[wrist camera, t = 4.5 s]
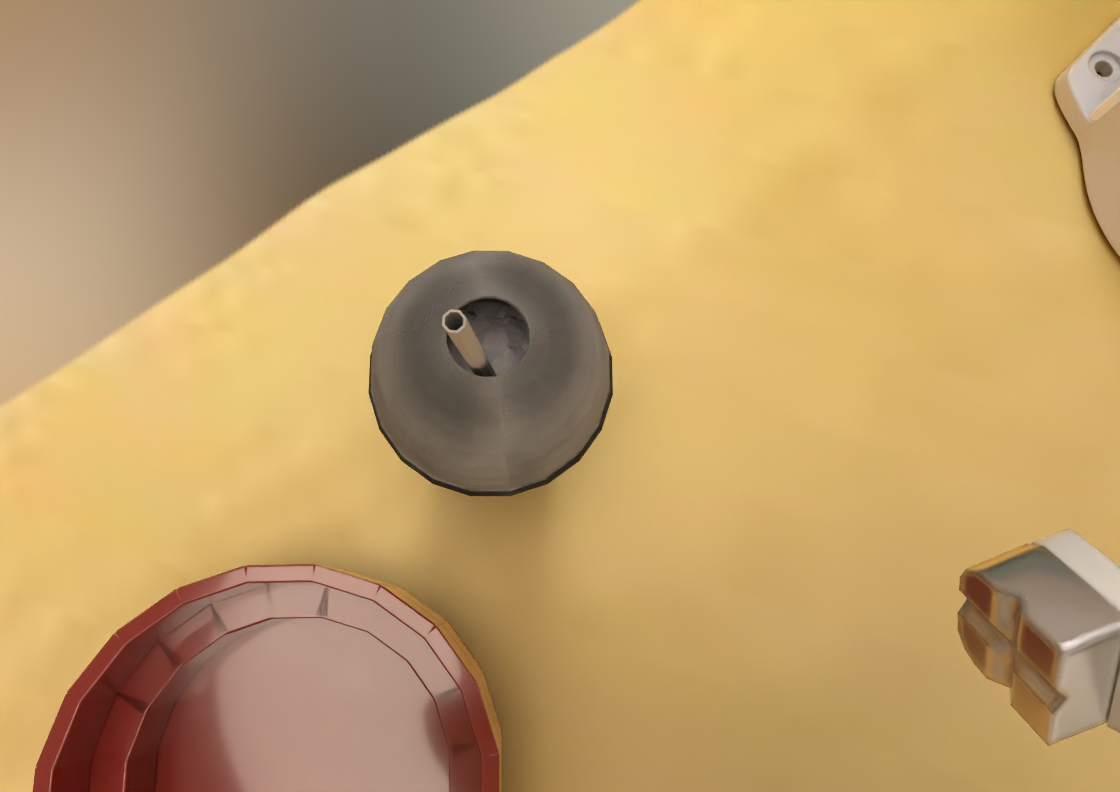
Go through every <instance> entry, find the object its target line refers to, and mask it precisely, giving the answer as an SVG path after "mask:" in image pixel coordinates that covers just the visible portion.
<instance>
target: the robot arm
mask: <svg viewBox="0 0 1120 792" xmlns="http://www.w3.org/2000/svg"><path fill="white" fill-rule="evenodd" d="M1095 70H1096V71H1098V72H1099V73H1100V74H1101V75H1102V76H1100V75H1098V74H1097V73H1096V71H1095ZM1054 91H1055V96H1056V100H1057V102H1058V105H1059V107H1060V109H1061V111H1062V113H1063V115H1064V116H1065V118H1066V120H1067V122H1068V124H1069V125H1070V127H1071V129H1072V130H1073V132H1074V134H1075V135H1076V137H1077V139H1078V143H1079V146H1080V150H1081V156H1082V164H1083V172H1084V179H1085V185H1086V190H1087V193H1088V197H1089V201H1090V204H1091V206H1092V209H1093V212H1094V214H1095V217H1096V219H1097V221H1098V223H1099V225H1100V227H1101V229H1102V231H1103V233H1104V235H1105V236H1106V238H1107V240H1108V241H1109V243H1110V244H1111V246H1112V247H1113V249H1114V250H1115V251H1116V253H1117V254H1118V255H1119V257H1120V16H1119V17H1118V18H1117V19H1116V20H1115V21H1114V22H1113V23H1112V24H1111V25H1110V26H1109V27H1108V28H1107V29H1106V30H1105V31H1104V32H1103V33H1102V34H1101V35H1100V36H1099V37H1098V38H1097V39H1096V40H1094V41H1093V42H1092V43H1091V44H1090V45H1089V46H1088V47H1087V48H1086V49H1085V50H1084V51H1083V52H1082V53H1081V54H1080V55H1079V56H1078V57H1077V58H1076V59H1075V60H1074V61H1073V62H1072V63H1071V64H1070V65H1069V66H1068V67H1067V68H1066V69H1065V70H1064V71H1063V72H1062V73H1061V74H1060V75H1059V77H1058V78H1057V80H1056V82H1055V85H1054ZM959 590H960V591H961V592H962V593H963V594H964V595H965V597H966V598H967V600H966V601H965V603H964V604H963V606H962V607H961V609H960V610H959V612H958V632H959V635H960V638H961V640H962V643H963V646H964V648H965V650H966V652H967V653H968V655H969V656H970V658H971V660H972V661H973V663H974V664H975V665H976V666H977V668H978V669H979V670H980V671H981V672H982V673H983V674H984V676H985V677H986V678H987V679H989V680H992V681H994V682H997V683H999V684H1002V685H1004V686H1007V687H1009V688H1010V698H1011V706H1012V707H1013V708H1014V709H1015V710H1016V711H1017V712H1018V713H1019V714H1020V716H1021V717H1022V718H1023V719H1024V720H1025V721H1026V722H1027V723H1028V724H1029V725H1030V727H1031V728H1032V729H1033V730H1034V731H1035V732H1036V733H1037V734H1038V735H1039V736H1040V738H1041V739H1042V740H1043V741H1044V742H1045V743H1046V744H1047V745H1048V746H1049V745H1052V744H1054V743H1057V742H1059V741H1062V740H1064V739H1067V738H1069V737H1072V736H1074V735H1077V734H1079V733H1082V732H1084V731H1087V730H1089V729H1092V728H1094V727H1097V726H1099V725H1102V724H1104V723H1107V722H1108V724H1107V727H1109V728H1111V729H1113V730H1115V731H1117V732H1119V733H1120V567H1119V566H1117V565H1116V564H1115V563H1114V562H1112V561H1111V560H1110V559H1109V558H1107V557H1106V556H1105V555H1104V554H1102V553H1101V552H1100V551H1099V550H1097V549H1096V548H1095V547H1094V546H1092V545H1091V544H1090V543H1089V542H1087V541H1086V540H1085V539H1084V538H1082V537H1081V536H1080V535H1078V534H1077V533H1075V532H1072V531H1069V530H1063V531H1059V532H1057V533H1054V534H1052V535H1050V536H1047V537H1045V538H1043V539H1040V540H1038V541H1036V542H1033V543H1031V544H1025V545H1022V546H1020V547H1018V548H1015V549H1013V550H1011V551H1008V552H1006V553H1003V554H1001V555H999V556H996V557H994V558H991V559H989V560H987V561H984V562H982V563H980V564H977V565H975V566H972V567H970V568H968V569H966V570H965V571H964V572H963V573H962V575H961V576H960V585H959Z"/></svg>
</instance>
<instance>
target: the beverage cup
mask: <svg viewBox="0 0 1120 792" xmlns="http://www.w3.org/2000/svg"><path fill="white" fill-rule="evenodd" d="M612 395H613V387H612V356H611V353H610V351H609V348H608V345H607V342H606V339H605V337H604V334H603V331H602V328H601V325H600V323H599V321H598V318H597V315H596V313H595V311H594V310H593V308H592V307H591V306H590V304H589V303H588V302H587V301H586V299H585V298H584V297H583V295H582V294H581V293H580V291H579V290H578V289H577V288H576V286H575V285H574V284H573V283H572V282H571V281H569V280H568V279H566V278H565V277H564V276H562V275H561V274H559V273H558V272H556V271H555V270H554V269H552V268H551V267H549V266H548V265H546V264H545V263H543V262H541V261H537V260H534V259H531V258H528V257H525V256H522V255H519V254H515V253H512V252H509V251H471V252H468V253H465V254H461V255H458V256H454V257H451V258H447V259H444V260H440V261H439V262H437V263H436V264H434V265H433V266H431V267H430V268H428V269H427V270H425V271H424V272H422V273H421V274H419V275H418V276H416V277H414V278H413V279H411V280H410V281H409V282H408V283H407V284H406V285H405V287H404V288H403V289H402V290H401V291H400V293H399V294H398V295H397V296H396V298H395V299H394V300H393V301H392V302H391V304H390V305H389V306H388V307H387V309H386V311H385V313H384V316H383V319H382V321H381V324H380V326H379V329H378V332H377V334H376V337H375V339H374V342H373V346H372V353H371V355H370V376H369V396H370V399H371V402H372V406H373V409H374V413H375V416H376V419H377V423H378V426H379V429H380V431H381V432H382V434H383V435H384V437H385V438H386V439H387V441H388V442H389V444H390V445H391V446H392V448H393V449H394V451H395V452H396V454H397V455H398V456H399V458H400V459H401V461H403V462H404V463H405V464H407V465H408V466H409V467H411V468H412V469H414V470H415V471H416V472H418V473H419V474H420V475H422V476H423V477H424V478H426V479H427V480H429V481H430V482H431V483H433V484H435V485H438V486H441V487H444V488H447V489H451V490H454V491H457V492H460V493H463V494H466V495H469V496H512V495H515V494H518V493H521V492H524V491H527V490H530V489H533V488H536V487H539V486H542V485H546V484H548V483H550V482H551V481H552V480H554V479H555V478H556V477H558V476H559V475H561V474H562V473H563V472H565V471H566V470H567V469H569V468H570V467H572V466H573V465H574V464H576V463H577V462H578V461H580V459H581V458H582V456H583V455H584V454H585V452H586V451H587V449H588V448H589V447H590V445H591V444H592V442H593V441H594V440H595V438H596V437H597V436H598V434H599V433H600V431H601V430H602V427H603V424H604V420H605V417H606V414H607V411H608V408H609V404H610V401H611V398H612Z"/></svg>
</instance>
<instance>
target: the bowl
mask: <svg viewBox="0 0 1120 792" xmlns="http://www.w3.org/2000/svg"><path fill="white" fill-rule="evenodd" d="M67 693H68V694H66V695H65V698H64V700H63V702H62V705H61V707H60V710H59V712H58V714H57V717H56V719H55V722H54V724H53V726H52V729H51V731H50V734H49V736H48V738H47V741H46V743H45V746H44V748H43V750H42V753H41V755H40V758H39V760H38V762H37V765H36V766H37V767H36V769H35V777H34V786H33V792H502V758H501V728H500V724H499V721H498V718H497V715H496V712H495V708H494V705H493V702H492V699H491V696H490V693H489V689H488V686H487V683H486V680H485V677H484V673H483V672H482V670H481V668H480V666H479V665H478V664H477V662H476V661H475V659H474V658H473V657H472V655H471V654H470V652H469V651H468V649H467V648H466V647H465V645H464V644H463V642H462V641H461V640H460V638H459V637H458V635H457V634H456V633H455V631H454V630H453V628H452V627H451V626H450V624H449V623H447V621H446V620H445V619H444V618H442V617H441V616H439V615H438V614H437V613H435V612H434V611H433V610H431V609H430V608H429V607H427V606H426V605H424V604H423V603H422V602H420V601H419V600H418V599H416V598H415V597H413V596H412V595H411V594H409V593H408V592H407V591H405V590H404V589H402V588H400V587H399V586H396V585H393V584H390V583H386V582H383V581H380V580H377V579H374V578H370V577H367V576H364V575H361V574H358V573H354V572H351V571H348V570H344V569H339V568H333V567H328V566H323V565H316V564H290V565H247V566H242V567H239V568H236V569H233V570H230V571H227V572H224V573H221V574H218V575H215V576H212V577H209V578H206V579H203V580H200V581H197V582H194V583H191V584H188V585H185V586H182V587H179V588H178V589H176V590H174V591H172V592H171V593H170V594H168V595H167V596H165V597H164V598H163V599H161V600H160V601H158V602H157V603H155V604H154V605H153V606H151V607H150V608H148V609H147V610H146V611H144V612H143V613H141V614H140V615H138V616H137V617H136V618H134V619H133V620H131V621H130V622H129V623H127V624H126V625H124V626H123V627H121V628H120V629H119V630H117V631H116V633H114V634H113V635H112V637H111V638H110V639H109V640H108V642H107V643H106V644H105V645H104V647H103V648H102V649H101V650H100V652H99V653H98V654H97V655H96V657H95V658H94V659H93V660H92V662H91V663H90V664H89V665H88V667H87V668H86V669H85V670H84V672H83V673H82V674H81V675H80V677H79V678H78V679H77V680H76V682H75V683H74V684H73V685H72V687H71V688H70V689H69V690H68V692H67Z"/></svg>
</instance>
